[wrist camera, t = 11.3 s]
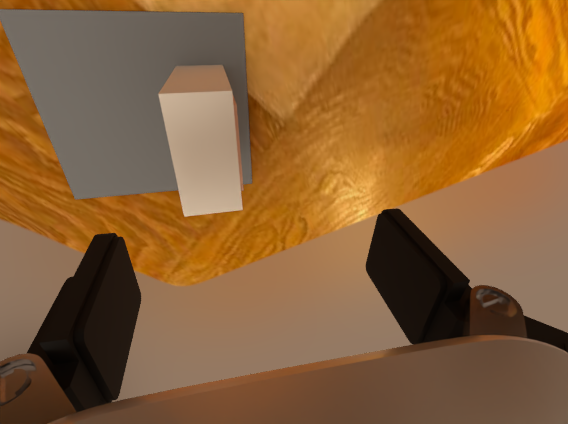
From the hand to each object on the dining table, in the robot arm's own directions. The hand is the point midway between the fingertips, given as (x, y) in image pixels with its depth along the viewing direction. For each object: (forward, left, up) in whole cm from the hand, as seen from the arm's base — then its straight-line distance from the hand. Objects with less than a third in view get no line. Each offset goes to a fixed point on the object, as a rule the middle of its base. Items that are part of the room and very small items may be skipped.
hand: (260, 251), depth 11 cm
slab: (+2, 0, -22) cm, 22 cm away
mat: (+7, 0, -22) cm, 23 cm away
